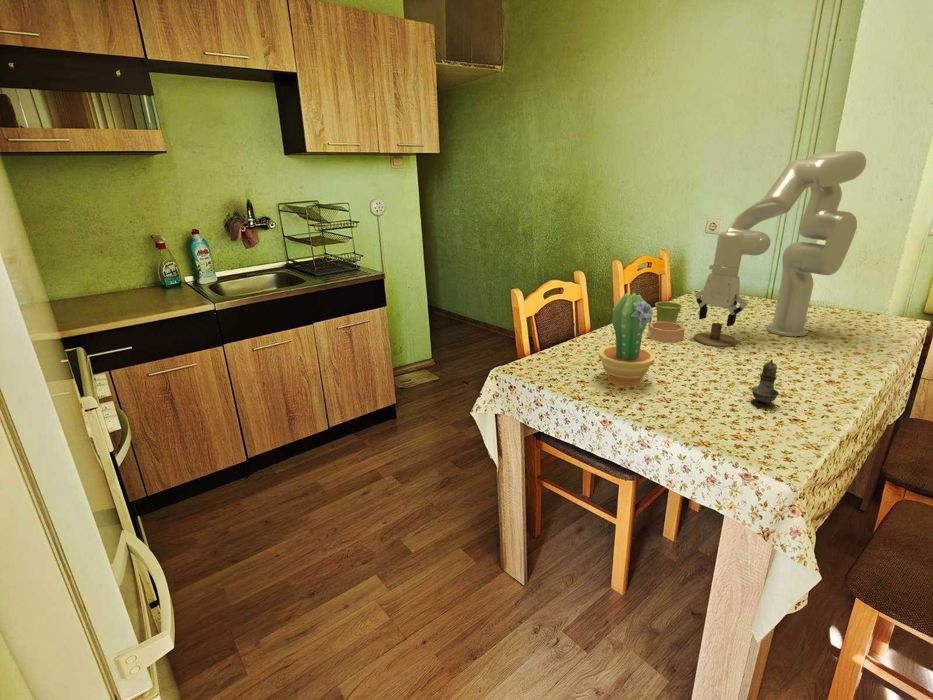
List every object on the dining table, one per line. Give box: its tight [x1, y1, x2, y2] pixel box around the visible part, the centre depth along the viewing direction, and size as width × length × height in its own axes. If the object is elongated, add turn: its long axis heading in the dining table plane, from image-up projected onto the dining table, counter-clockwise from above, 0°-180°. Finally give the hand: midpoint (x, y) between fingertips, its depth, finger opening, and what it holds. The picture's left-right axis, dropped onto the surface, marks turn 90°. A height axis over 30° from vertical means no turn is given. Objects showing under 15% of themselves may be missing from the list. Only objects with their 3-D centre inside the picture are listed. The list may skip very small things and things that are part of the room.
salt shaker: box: [750, 359, 780, 410], centre depth 119 cm, size 6×6×12 cm
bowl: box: [647, 320, 685, 343], centre depth 168 cm, size 11×11×5 cm
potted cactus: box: [598, 292, 656, 388], centre depth 133 cm, size 15×15×25 cm
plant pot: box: [654, 301, 683, 323], centre depth 181 cm, size 9×9×9 cm
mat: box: [687, 337, 742, 350], centre depth 164 cm, size 12×12×1 cm
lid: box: [693, 322, 737, 348], centre depth 163 cm, size 13×13×6 cm
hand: (715, 322), depth 161 cm, fingers open, 9 cm apart
